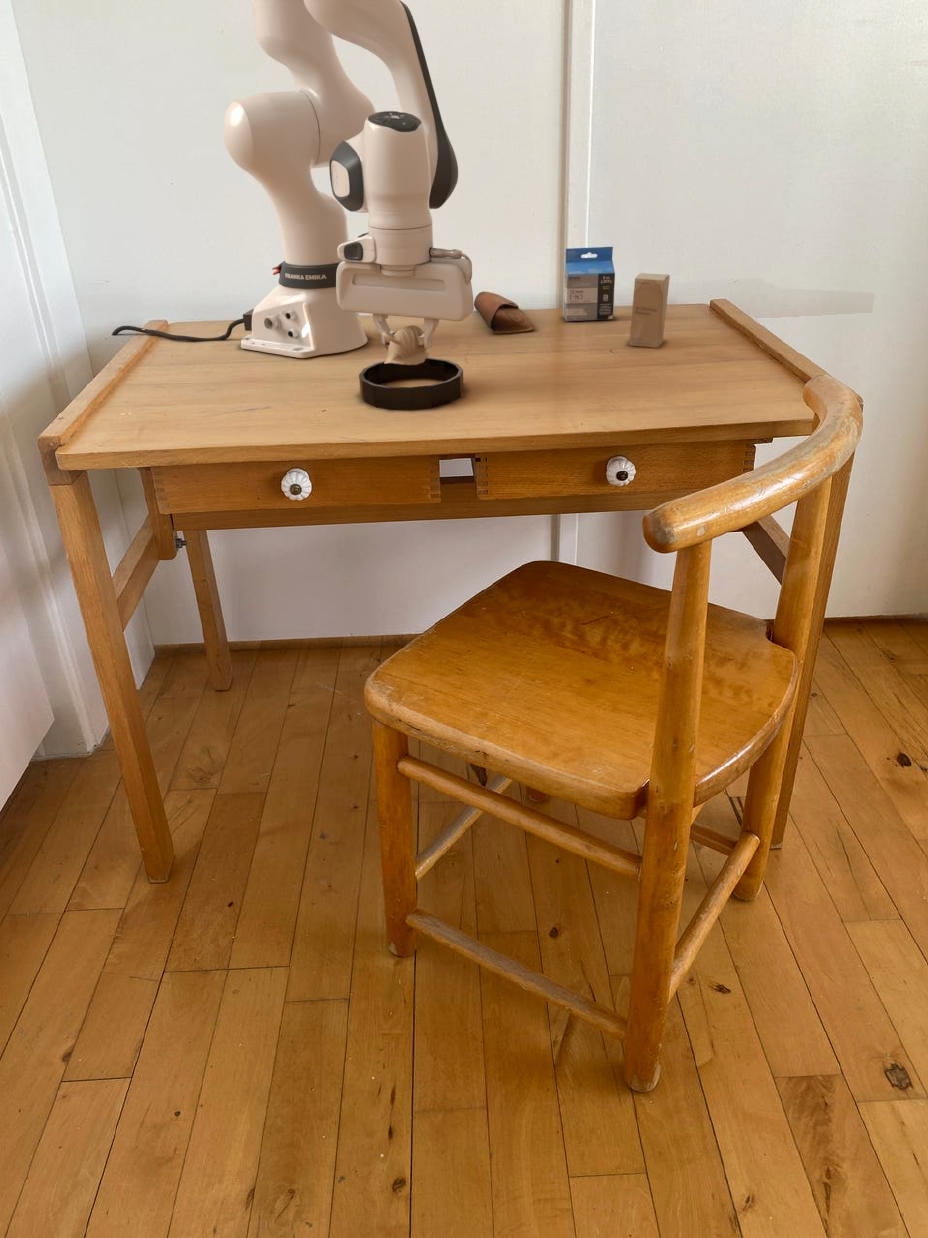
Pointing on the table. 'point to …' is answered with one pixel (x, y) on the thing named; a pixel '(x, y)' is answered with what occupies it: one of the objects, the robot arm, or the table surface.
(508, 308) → the sunglasses case
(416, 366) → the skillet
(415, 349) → the decorative ornament
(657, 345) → the box
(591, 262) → the label tape box
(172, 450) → the table surface
